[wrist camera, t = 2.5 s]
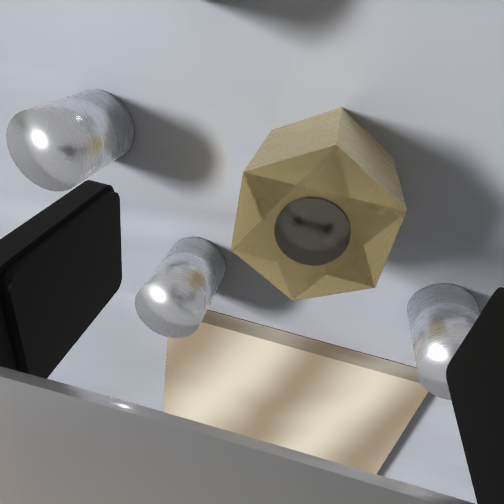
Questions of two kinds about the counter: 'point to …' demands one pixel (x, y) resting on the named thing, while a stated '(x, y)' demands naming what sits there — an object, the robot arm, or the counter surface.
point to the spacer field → (192, 248)
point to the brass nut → (319, 207)
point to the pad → (291, 391)
